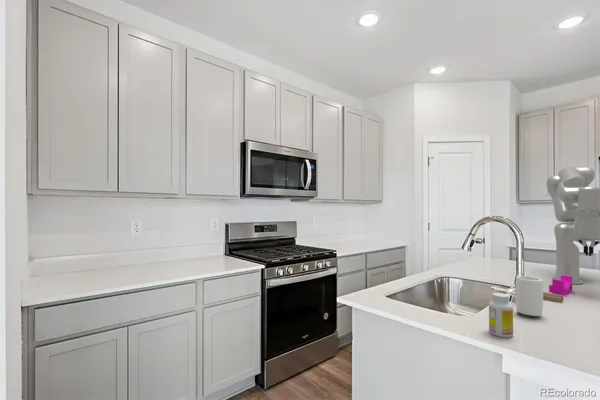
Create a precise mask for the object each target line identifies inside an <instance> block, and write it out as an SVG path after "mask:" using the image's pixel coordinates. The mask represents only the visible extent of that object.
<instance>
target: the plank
mask: <svg viewBox="0 0 600 400" xmlns="http://www.w3.org/2000/svg"><path fill="white" fill-rule="evenodd" d="M563 300H564V297H563V295H559V294H553V293H551V292H546V291H543V301H549V302H554V303H558V304H559V303H560V304H562V303H563Z"/></svg>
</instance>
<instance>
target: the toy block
mask: <svg viewBox="0 0 600 400" xmlns="http://www.w3.org/2000/svg"><path fill="white" fill-rule="evenodd" d="M551 283H552V284H551V285H548V293H553V294H559V295H563V298H564V297H565V295H566V296H567V295H570V294H571V293H572V292H573V284H572V276H567V275H561V279H560V280H558V279H553V278H552V280H551Z"/></svg>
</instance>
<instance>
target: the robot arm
mask: <svg viewBox="0 0 600 400" xmlns="http://www.w3.org/2000/svg"><path fill="white" fill-rule="evenodd" d="M595 174H596V172H595V170H594V169H593V167H591V166H587V165H586V166H585V165H584V166H581V165H580V166H565V167H563V168H561V169H559V171H558V173H557V174H554V175H551V176H549V177H548V178H547V179H546V189H547V193H548V194H549V195H550V198H551V200H552V203H553V209H554V215H555V219H556V220H557V222H558V223H557V224H556V225H555V226H554V230H553V231H554V232H553V233H554V237H555V244H556V247H555V252H556V253H555V255H556V256H555V258H556V259H555V260H556V261H555V262H556V265H555V266H556V268H555V276H553V277H552V279H558V280H560V279H561V275H567V276H572V285H582V284H584V281H583V280H582V279H580V248H579V247H578V246H577V244H575V243H574V242H576V243H579V244H580V245H582V247H583V254H585V256H589V257H592V255H594V253H595V252H594V247H596V246H598V244H600V187H597V186H590V185H591V184H592V182H593V181H594V180H595V177H596V175H595ZM575 204H576V205H575ZM587 242H590V244H589V246H588V243H587Z"/></svg>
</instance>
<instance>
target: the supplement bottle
mask: <svg viewBox="0 0 600 400" xmlns="http://www.w3.org/2000/svg"><path fill="white" fill-rule="evenodd" d="M491 296H492V300H490V302H489V303H488V330H489V333H490V334H492V335H494V336H495V337H500V338H508V339H509V338H512V337H513V336H514V307H513V305H512V303H511V302H509V301H510V295H509V294H507V293H504V292H493V293H492V295H491Z"/></svg>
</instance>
